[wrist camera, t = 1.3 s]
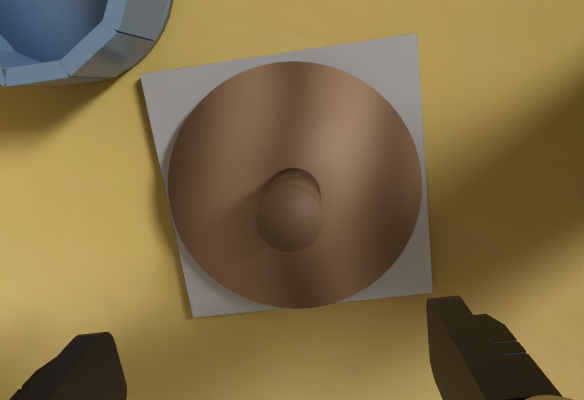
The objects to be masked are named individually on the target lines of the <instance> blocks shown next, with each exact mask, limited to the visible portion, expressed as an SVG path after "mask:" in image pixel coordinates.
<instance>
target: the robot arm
mask: <svg viewBox="0 0 584 400" xmlns="http://www.w3.org/2000/svg"><path fill="white" fill-rule="evenodd" d="M426 310H427V325H428V341H429V355H430V363H431V368H432V372H433V376H434V379H435V382H436V385H437V387H438V389H439V392H440V394H441V396H442V399H443V400H572V399H569V398H565V397H563V396H562V395H561V394H560V393H559V391H558V390H557V389H556V388H555V387H554V385H553V384H552V383H551V382H550V380H549V379H548V378H547V377H546V375H545V374H544V373H543V372H542V370H541V369H540V368H539V367H538V365H537V364H536V363H535V362H534V360H533V359H532V358H531V357H530V356H529V354H526V351H525V349H524V348H523V347H522V346H521V344H520V343H519V342H517V341H516V338H515V337H514V336H513V334H512V333H511V332H510V331H509V330H508V328H507V327H506V326H505V325H504V324H502V323H501V322H499V321H497V320H496V319H494V318H492V317H491V316H489V315H487V314H480V315H473V314H472V313H471V311H470V310H469V308H468V307H467V305H466V304H465V303H464V301H463V300H462V298H461V297H460V296H449V297H440V298H430V299H427V303H426ZM126 397H127V386H126V381H125V377H124V374H123V370H122V366H121V363H120V359H119V355H118V352H117V348H116V344H115V341H114V338H113V336H112V335H111V334H110V333H109V332H101V333H91V334H82V335H77V336H76V337H74V338H73V340H72V341H71V342H70V343H69V344H68V345H67V346H66V347H65V348H64V349H63V351H62V352H61V353H60V354H59V355H58V356H57V357H56V358H54V359H53V360H51V361H50V362H48V363H47V364H45V365H44V366H43V367H41V368H40V369H38V370H37V371H36V372H35V373H34V374H33V375H32V376H31V377H30V378H29V379H28V380H27V381H26V382H25V383H24V384H23V385H22V389H19V390H18V391H17V392H16V393H15V394H14V395H13V396H12V397H11V398H10V400H126Z"/></svg>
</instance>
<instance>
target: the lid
mask: <svg viewBox="0 0 584 400" xmlns="http://www.w3.org/2000/svg"><path fill="white" fill-rule="evenodd" d="M168 197H169V204H170V210H171V214H172V217H173V220H174V224H175V227H176V229H177V231H178V233H179V236H180V238H181V240H182V242H183V243H184V245H185V247H186V248H187V250H188V252H189V253H190V255H191V256H192V257H193V258H194V260H195V261H196V262H197V264H198V265H199V266H200V267H201V268H202V269H203V270H204V271H205V272H206V273H207V274H208V275H209V276H210V277H212V278H213V279H214V280H215V281H217V282H218V283H219V284H221V285H222V286H223V287H225V288H227V289H228V290H230V291H232V292H233V293H235V294H237V295H239V296H242V297H244V298H246V299H248V300H251V301H254V302H257V303H260V304H264V305H269V306H274V307H279V308H293V309H296V308H312V307H318V306H324V305H328V304H331V303H335V302H338V301H341V300H344V299H346V298H348V297H351V296H353V295H355V294H357V293H358V292H360V291H362V290H364V289H365V288H367V287H368V286H370V285H371V284H372V283H374V282H375V281H376V280H378V279H379V278H380V277H381V276H382V275H383V274H384V273H385V272H386V271H387V270H388V269H390V268H391V266H392V265H393V264H394V263H395V261H396V260H397V259H398V258H399V256H400V255H401V254H402V252H403V250H404V249H405V247H406V245H407V244H408V242H409V240H410V238H411V235H412V233H413V231H414V228H415V226H416V222H417V219H418V215H419V212H420V206H421V199H422V174H421V166H420V160H419V157H418V153H417V150H416V146H415V144H414V141H413V139H412V137H411V134H410V132H409V130H408V128H407V127H406V125H405V123H404V122H403V120H402V118H401V117H400V115H399V114H398V113H397V111H396V110H395V109H394V108H393V107H392V105H391V104H390V103H389V102H388V101H387V100H386V99H385V98H384V97H383V96H382V95H381V94H380V93H378V92H377V91H376V90H375V89H374V88H372V87H371V86H369V85H368V84H366V83H365V82H364V81H362V80H361V79H359V78H357V77H355V76H353V75H351V74H349V73H347V72H345V71H342V70H339V69H336V68H333V67H330V66H327V65H322V64H317V63H312V62H297V61H289V62H276V63H271V64H266V65H262V66H257V67H254V68H252V69H249V70H246V71H243V72H241V73H239V74H237V75H235V76H233V77H231V78H230V79H228V80H226V81H224V82H223V83H221V84H220V85H219V86H217V87H216V88H215V89H213V90H212V91H211V92H210V93H209V94H208V95H206V96H205V97H204V98H203V99H202V100H201V101H200V102H199V103H198V105H197V106H196V107H195V108H194V110H193V111H192V112H191V114H190V115H189V116H188V118H187V119H186V121H185V123H184V125H183V126H182V128H181V130H180V132H179V134H178V137H177V139H176V142H175V144H174V147H173V150H172V154H171V158H170V162H169V171H168Z"/></svg>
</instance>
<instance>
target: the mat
mask: <svg viewBox="0 0 584 400" xmlns="http://www.w3.org/2000/svg"><path fill="white" fill-rule="evenodd" d="M289 61H297V62H312V63H317V64H322V65H327V66H330V67H333V68H336V69H339V70H342V71H345V72H347V73H349V74H351V75H353V76H355V77H357V78H359V79H361V80H362V81H364V82H365V83H366V84H368V85H369V86H371V87H372V88H374V89H375V90H376V91H377V92H378V93H380V94H381V95H382V96H383V97H384V98H385V99H386V100H387V101H388V102H389V103H390V104H391V105H392V107H393V108H394V109H395V110H396V111H397V113H398V114H399V115H400V117H401V118H402V120H403V122H404V123H405V125H406V127H407V128H408V130H409V132H410V134H411V137H412V139H413V141H414V144H415V146H416V150H417V153H418V157H419V160H420V166H421V174H422V199H421V206H420V212H419V215H418V219H417V222H416V226H415V228H414V231H413V233H412V235H411V238H410V240H409V242H408V244H407V245H406V247H405V249H404V250H403V252H402V254H401V255H400V256H399V258H398V259H397V260H396V261H395V263H394V264H393V265H392V266H391V268H390V269H388V270H387V271H386V272H385V273H384V274H383V275H382V276H381V277H380V278H379V279H378V280H376V281H375V282H374V283H372V284H371V285H370V286H368V287H367V288H365V289H364V290H362V291H360V292H358V293H357V294H355V295H353V296H351V297H348V298H346V299H344V300H341V301H338V302H335V303H342V302H351V301H361V300H371V299H380V298H390V297H399V296H409V295H419V294H428V293H433V286H432V270H431V253H430V237H429V220H428V203H427V187H426V170H425V154H424V137H423V120H422V104H421V87H420V71H419V54H418V37H417V33H415V34H408V35H401V36H395V37H388V38H381V39H374V40H368V41H361V42H354V43H348V44H341V45H334V46H327V47H321V48H314V49H307V50H301V51H294V52H287V53H280V54H274V55H267V56H260V57H254V58H247V59H240V60H233V61H227V62H220V63H213V64H207V65H200V66H193V67H186V68H180V69H173V70H166V71H159V72H153V73H146V74H140V78H141V82H142V87H143V91H144V96H145V101H146V105H147V110H148V114H149V119H150V123H151V128H152V132H153V137H154V142H155V146H156V151H157V155H158V160H159V164H160V169H161V173H162V178H163V182H164V187H165V192H166V196H167V201H168V205H169V210H170V204H169V197H168V171H169V162H170V158H171V154H172V150H173V147H174V144H175V142H176V139H177V137H178V134H179V132H180V130H181V128H182V126H183V125H184V123H185V121H186V119H187V118H188V116H189V115H190V114H191V112H192V111H193V110H194V108H195V107H196V106H197V105H198V103H199V102H200V101H201V100H202V99H203V98H204V97H205V96H206V95H208V94H209V93H210V92H211V91H212V90H213V89H215V88H216V87H217V86H219V85H220V84H221V83H223V82H224V81H226V80H228V79H230V78H231V77H233V76H235V75H237V74H239V73H241V72H243V71H246V70H249V69H252V68H254V67H257V66H262V65H266V64H271V63H276V62H289ZM170 214H171V210H170ZM171 219H172V223H173V228H174V232H175V237H176V242H177V246H178V251H179V255H180V260H181V264H182V269H183V273H184V278H185V282H186V287H187V292H188V296H189V301H190V305H191V310H192V314H193V318H198V317H207V316H217V315H226V314H236V313H246V312H255V311H265V310H274V309H284V308H279V307H274V306H269V305H264V304H260V303H257V302H254V301H251V300H248V299H246V298H244V297H242V296H239V295H237V294H235V293H233V292H232V291H230V290H228V289H227V288H225V287H223V286H222V285H221V284H219V283H218V282H217V281H215V280H214V279H213V278H212V277H210V276H209V275H208V274H207V273H206V272H205V271H204V270H203V269H202V268H201V267H200V266H199V265H198V264H197V262H196V261H195V260H194V258H193V257H192V256H191V255H190V253H189V252H188V250H187V248H186V247H185V245H184V243H183V242H182V240H181V238H180V236H179V233H178V231H177V229H176V227H175V224H174V220H173V217H172V214H171ZM331 304H332V303H331Z"/></svg>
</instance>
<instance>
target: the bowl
mask: <svg viewBox="0 0 584 400" xmlns="http://www.w3.org/2000/svg"><path fill="white" fill-rule="evenodd" d="M172 4H173V0H0V85H2V86H6V87H14V86H64V85H71V84H77V83H87V82H98V81H103V80H107V79H111V78H114V77H117V76H118V75H121V74H123V73H125V72H126V71H128V70H130V69H132V68H133V67H134V66H136V65H137V64H138V63H139V62H141V61H142V60H143V59H144V58H145V57H146V56H147V55H148V54H149V53H150V52H151V50H152V49H153V48H154V46H155V45H156V44H157V42H158V41H159V39H160V37H161V35H162V33H163V31H164V30H165V27H166V24H167V22H168V19H169V16H170V13H171V8H172Z"/></svg>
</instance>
